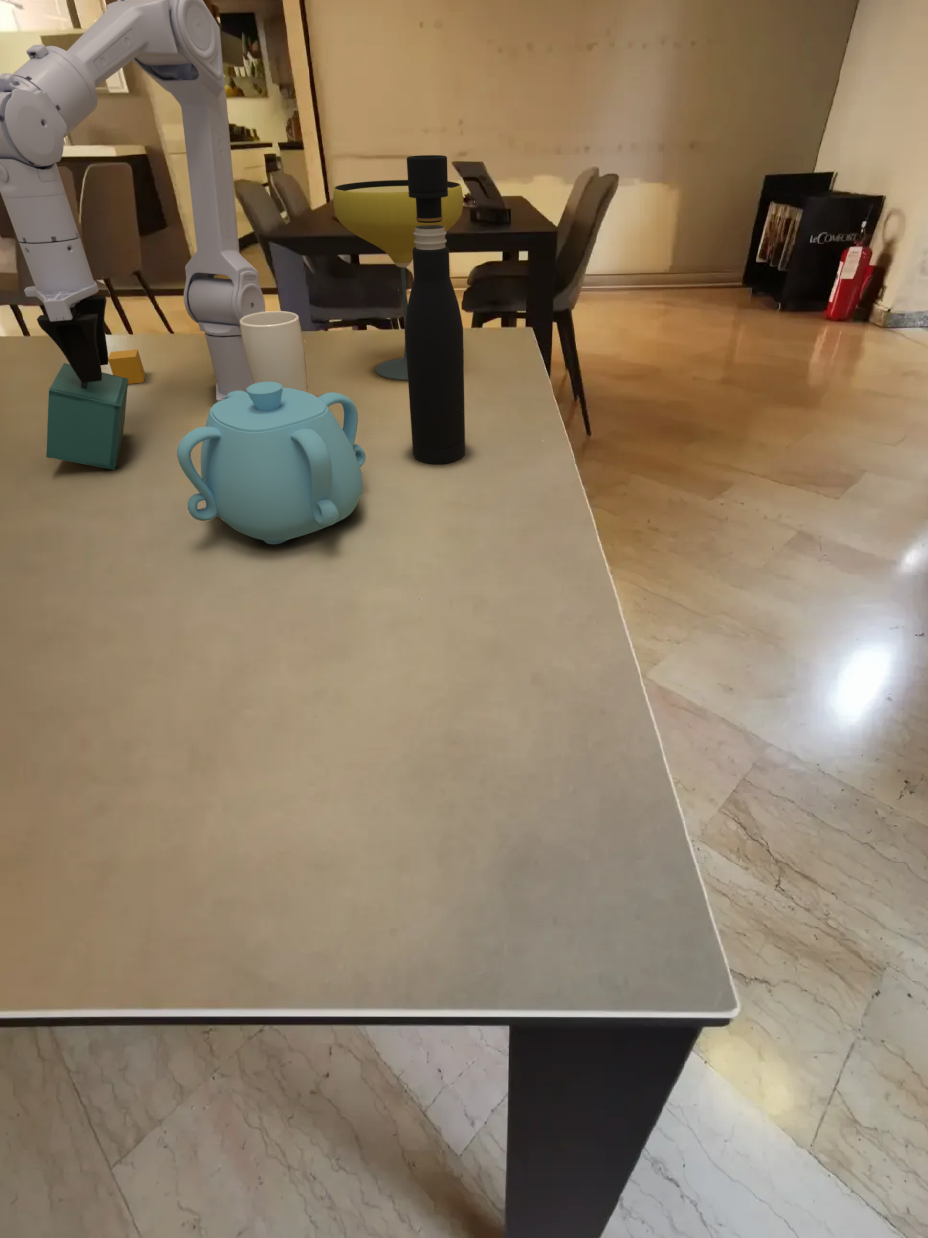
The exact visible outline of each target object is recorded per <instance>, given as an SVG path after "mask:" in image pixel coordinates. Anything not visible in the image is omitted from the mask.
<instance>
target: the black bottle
mask: <svg viewBox="0 0 928 1238" xmlns="http://www.w3.org/2000/svg"><path fill="white" fill-rule="evenodd" d="M406 169H407V170H406V172H407V180H408V190H409V197H411V198H416V211H417V217H416V220H417V221H418V222H420V223H436V222H441V221H442V219H443V216H442V206H441V198H442V197H447V196H448V181H449V180H448V178H449V177H448V156H447V155H444V154H443V155H442V154H424V155H423V154H422V155H409V156H407V157H406ZM414 235H415V240H414V243H415V244H416V247H414V248H413V250H412V253H413V260H412V265H413V266H412V268H413V270H412V271H413V281H412V285H411V289H410V293H409V297H408V300H407V313H406V322H405V329H404V343H405V342H406V357H407V372H408V380H407V383H408V384H407V385H408V400H409V415H410V432H411V445H412V455H413V457H414V458H415V460H417V461H419V462H422V463H425V464H431V465H443V464H445V465H446V464H451V463H453V462H454V463H455V462H457V461H459V460H461V459H462V458H463V457H464V456H465V455H466V419H465V417H466V415H465V412H466V411H465V361H464V360H465V359H464V357H465V356H464V355H465V354H464V326H463V319H462V314H461V309H460V305H459V301H458V297H457V294H456V292H455V288H454V285H453V283H452V279H451V275H450V273H451V272H450V249H449V247H448V246H446V243H447V242H448V241H447V239H446V235H447V231H445V227H444V226H441V225H422V226H417V227H415V232H414Z"/></svg>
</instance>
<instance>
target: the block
mask: <svg viewBox="0 0 928 1238" xmlns="http://www.w3.org/2000/svg"><path fill="white" fill-rule="evenodd" d="M108 365H109V368H110V370H111V372H112V375H115V376H119V377H123V378H128V385H132V384H141V383H142V384H143V383H144V382H145V379H146V371H145V369H144V366H143V362H142V359H141V355H140V353H139V350H138V349H137V348H135V349H127V350H126V349H125V350H116V351H110V353H109V354H108Z"/></svg>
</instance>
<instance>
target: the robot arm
mask: <svg viewBox="0 0 928 1238" xmlns="http://www.w3.org/2000/svg"><path fill="white" fill-rule="evenodd" d="M26 54H27V56H28V57H29V60H27V61H26V62H25V63H24V64H22V65H21V66H20V67H18V68H17V70H15V71H14V72H13V73H10V72H5V73H1V74H0V195H1V198H2V200H3V203H4V206H5V208H6V211H7V214H8V216H9V219H10V222H11V225H12V227H13V230H14V233H15V237H16V239H17V241H18V244H19V246H20V249H21V252H22V254H23V257H24V259H25V263H26V265H27V268H28V271H29V273H30V275H31V278H32V282H33V284H34V285H32V286H27V287H25V289H24V290H23V292H24V294H25V297H26V298H35V297H36V298H37V299H39V300H40V301H41V302H42V303H43V306H44V309H45V311H46V314H40V315H38V317H37V318H36V322H37V324H38V326H39V327H40V329H41V330H42V331H43V332H44V333H45V334H46V335H48V337H49V338H50V339H51V340H52V341H53V342H54V343H55V345H56V346H57V347H58V348H59V349H60V351H61V352H62V354H63V355H64V357H65V359H66V360H67V361H68V364H70V365H71V367H72V368H73V370H74V372H75V373H76V375H77V376H78V378H79V379H80V381H81V382H82V383H85V382H95V381H101V380H102V372H103V371H102V366H109V361H108V358H109V351H108V344H107V337H106V327H105V324H106V323H105V314H106V306H107V296H106V295H105V294H97V293H98V292H99V291H100V290H99V286H98V283H97V282H96V281H95V280H94V277H93V274H92V271H91V268H90V265H89V261H88V258H87V255H86V252H85V248H84V246H83V242H82V239H81V237H80V233H79V230H78V226H77V224H76V221H75V218H74V214H73V212H72V209H71V208H72V207H71V206H70V202H69V199H68V196H67V192H66V190H65V186H64V183H63V180H62V177H61V174H60V171H59V168H58V165H57V163H58V162H60V161H61V159H62V157H63V154H64V145H65V144H64V139H65V138H66V137H67V136H69V134H71V132H73V131H74V130H75V129H76V128H77V127H78V126H79V125H80V124H81V123H82V122H83V121H84V120H86V118H88V117H89V116H90V115H91V114H92V113H93V112H94V111H95V110H96V108H97V107H98V102H99V101H98V99H99V98H98V92H97V88H98V87H99V86H100V85H101V84H103V83H104V82H105V81H107V80H108V79H109V78H111V77H112V76H113V75H114V74H116V73H117V72H118V71H120V70H121V69H122V68H124V67H126V66H127V65H128V64H129V63H130V62H133V64H135V65H136V66H137V67H138V68H139V69H141V70H142V71H143V72H144V73H145V74H146V75H148V76H149V77H150V78H151V79H152V80H153V81H154V82H155V83H157V84H158V85H159V86H160V87H161V88H162V89H164V91H166V92H168V93H170V94H171V95H172V96H173V98H174V99H175V100H176V102H177V103H178V104H179V106H180V108H181V118H182V127H183V136H184V143H185V144H184V146H185V153H186V161H187V162H186V164H187V172H188V180H189V189H190V190H189V191H190V198H191V207H192V208H191V209H192V218H193V225H194V226H193V227H194V235H195V236H194V237H195V244H196V245H195V246H196V251H195V252H194V255H193V256H192V257H191V258H190V259H189V260H188V262H187V263H186V264H185V267H184V270H185V284H184V289H183V304H184V307H185V310H186V312H187V314H188V316H189V317H190V319H191V320H192V321H193V322H194V323H197V324H198V328H199V331H201V332H204V335H205V340H206V344H207V348H208V352H209V357H210V359H211V360H210V361H211V365H212V368H213V373H214V378H215V381H216V383H215V399H216V403H217V402H219V401H222V400H224V398H225V396H226V395H227V394H229V393H230V392H233V391H244V392H246V393H247V390H246V389H247V388H248V387H249V386H251V385H253V384H254V382H253V379H252V376H251V372H250V369H249V365H248V362H247V358H246V354H245V350H244V345H243V340H242V334H241V328H240V319H241V318H243V317H244V316H247V315H250V314H254V313H259V312H266V300H265V296H264V294H263V290H262V288H261V284H260V280H259V279H260V278H259V271H258V270H257V268H255V266H254V265H252V264H251V263H250V262H249V261H248V260H246V258H245V257H243V255H241V253H240V242H239V232H238V220H237V219H238V218H237V208H236V207H237V206H236V195H235V183H234V172H233V171H234V170H233V161H232V148H231V138H230V137H231V136H230V135H231V134H230V126H229V124H230V123H229V113H228V112H229V111H228V102H227V101H228V100H227V93H226V87H225V74H224V63H223V51H222V39H221V29H220V26H219V25H218V23H217V20H216V19H215V18H214V16H213V14H212V13H211V11H210V9H209V8H208V6H207V4H206V3H205V1H204V0H116V1H113V2H111V3H108V4H107V5H106V10H105V11H104V13H103V14H102V15H100V17H98V19H97V20H95V22H93V24H92V25H90V27H88V29H86V31H85V32H84V33H83V34H82V35H80V37H78V39H76V41H75V42H74V43H73V44H72V45H71V46H70V47H69V48H68V49H67V50H65V49H63V48H61V47H59V46H55V45H47V46H46V45H45V44H44V43H42V44H33V45H31V46H30V47H29V48H28V49H26ZM217 275H223V276H226V277H228V278H223V277H222V278H221V277H216V276H217ZM97 347H98V349H99V354H98V349H97Z"/></svg>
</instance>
